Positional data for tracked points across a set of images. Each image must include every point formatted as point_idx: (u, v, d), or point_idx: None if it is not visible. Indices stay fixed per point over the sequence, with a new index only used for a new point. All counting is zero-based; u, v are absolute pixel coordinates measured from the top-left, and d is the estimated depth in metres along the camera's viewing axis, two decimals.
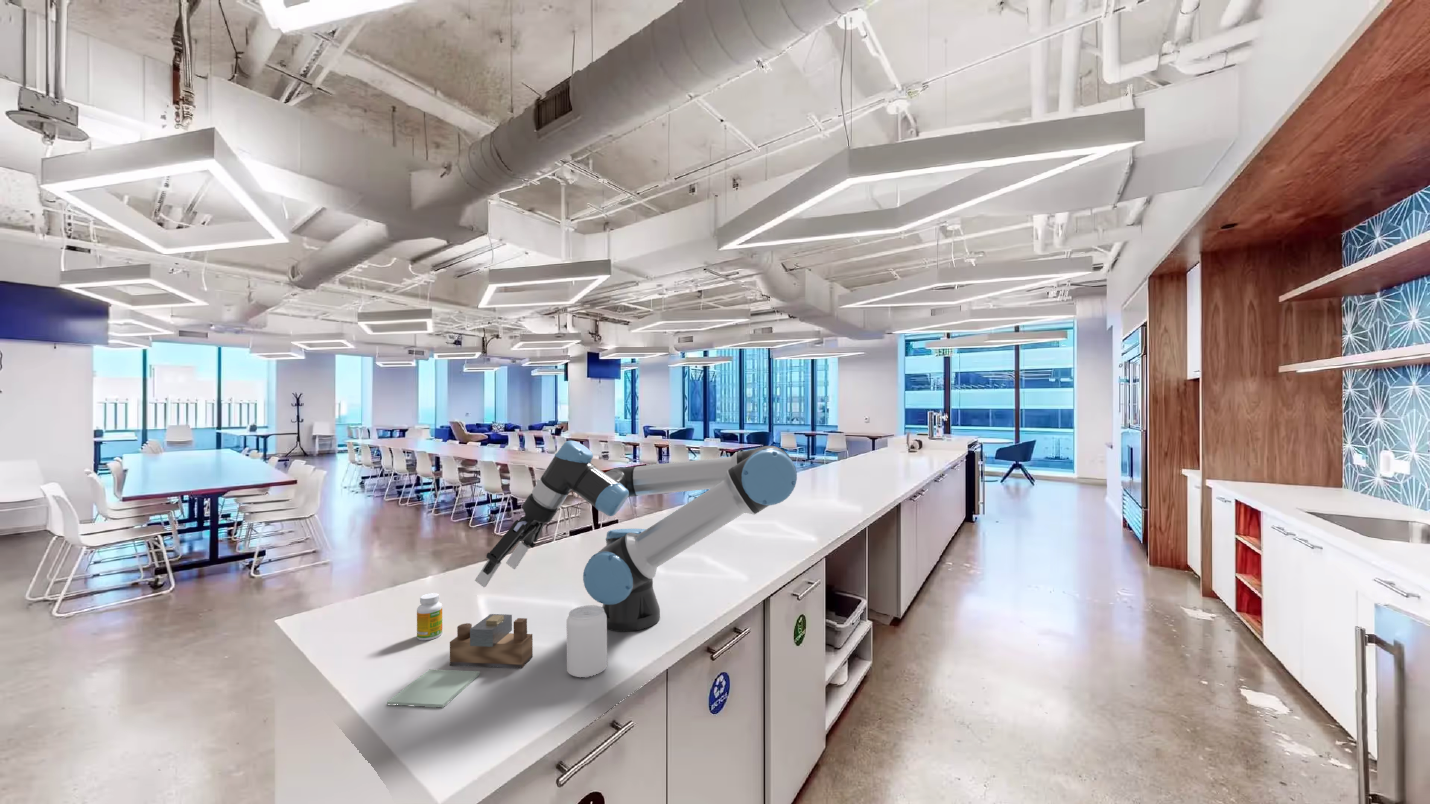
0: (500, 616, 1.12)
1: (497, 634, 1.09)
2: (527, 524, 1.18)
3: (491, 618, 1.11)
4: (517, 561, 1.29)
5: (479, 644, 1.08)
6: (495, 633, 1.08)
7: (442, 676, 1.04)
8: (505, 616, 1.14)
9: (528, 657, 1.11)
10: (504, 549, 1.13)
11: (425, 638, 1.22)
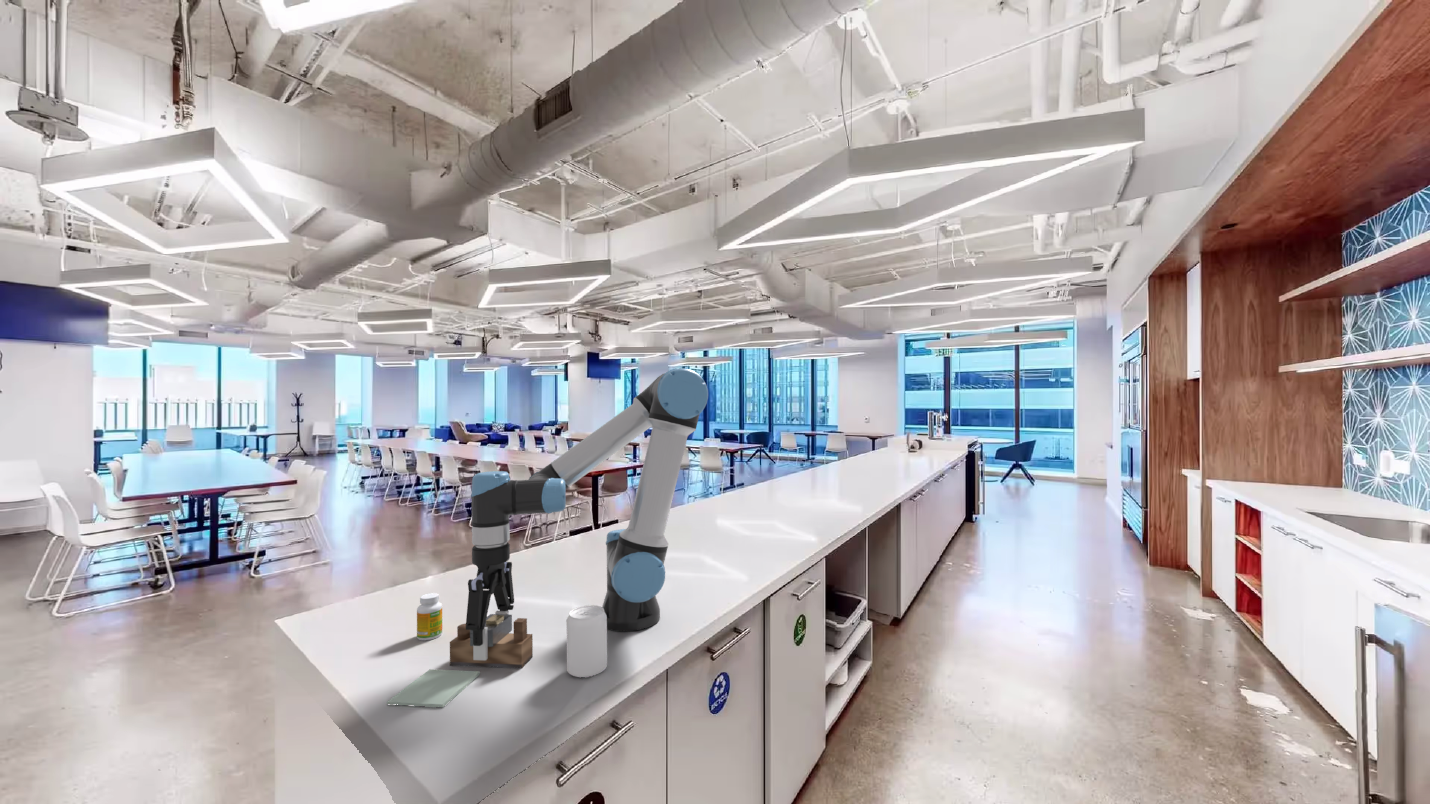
0: (500, 616, 1.12)
1: (497, 634, 1.09)
2: (484, 575, 1.08)
3: (491, 618, 1.11)
4: None
5: None
6: (495, 633, 1.08)
7: (442, 676, 1.04)
8: (505, 616, 1.14)
9: (528, 657, 1.11)
10: (476, 612, 1.05)
11: (425, 638, 1.22)
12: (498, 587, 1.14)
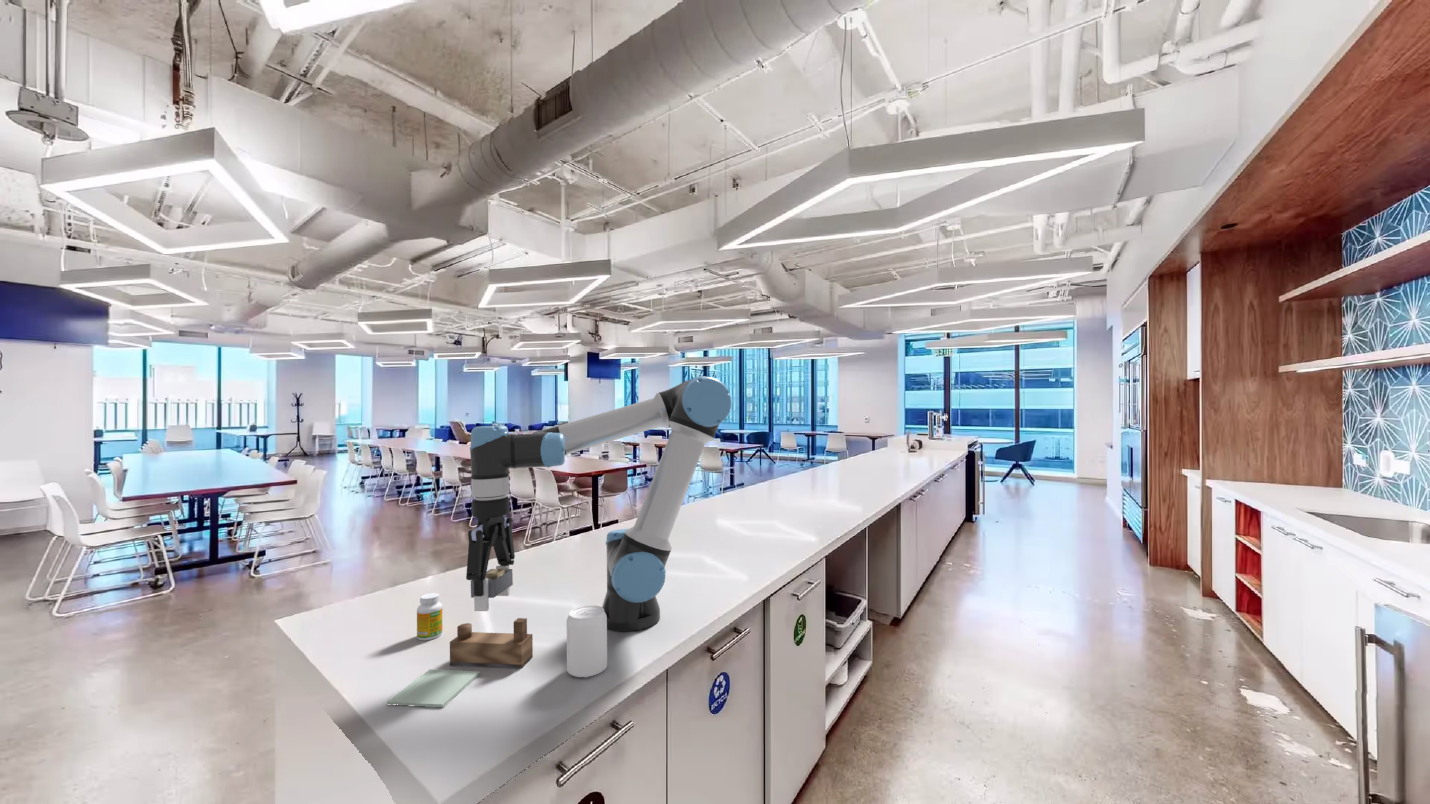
0: (501, 569, 1.13)
1: (498, 586, 1.09)
2: (484, 527, 1.08)
3: (492, 571, 1.12)
4: None
5: None
6: (495, 584, 1.09)
7: (442, 676, 1.04)
8: (506, 570, 1.15)
9: (528, 657, 1.11)
10: (477, 562, 1.05)
11: (425, 638, 1.22)
12: (498, 541, 1.14)
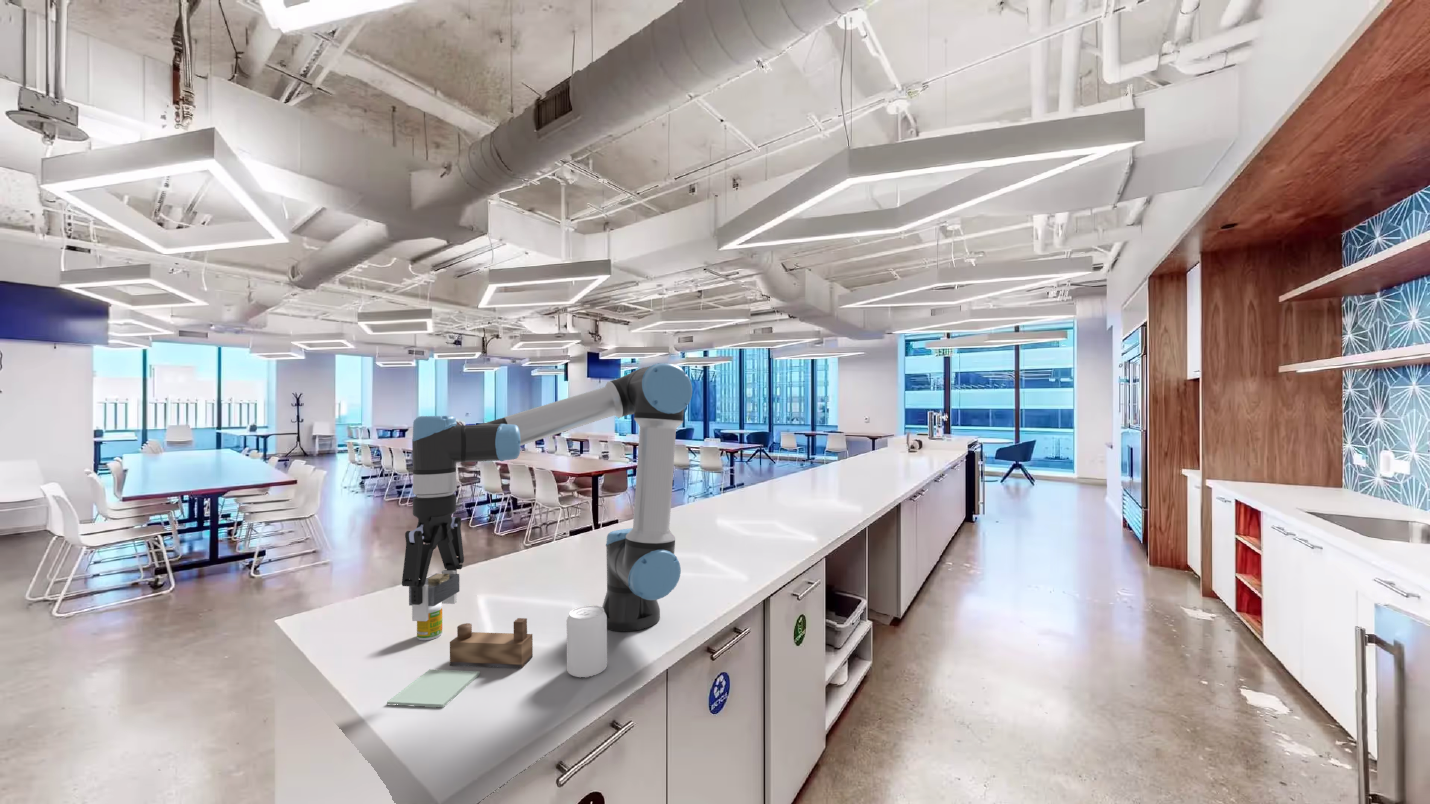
0: (445, 574, 1.02)
1: (440, 593, 0.99)
2: (424, 527, 0.97)
3: (434, 576, 1.01)
4: None
5: None
6: (437, 591, 0.98)
7: (442, 676, 1.04)
8: (451, 575, 1.04)
9: (528, 657, 1.11)
10: (414, 567, 0.94)
11: (425, 638, 1.22)
12: (444, 543, 1.03)
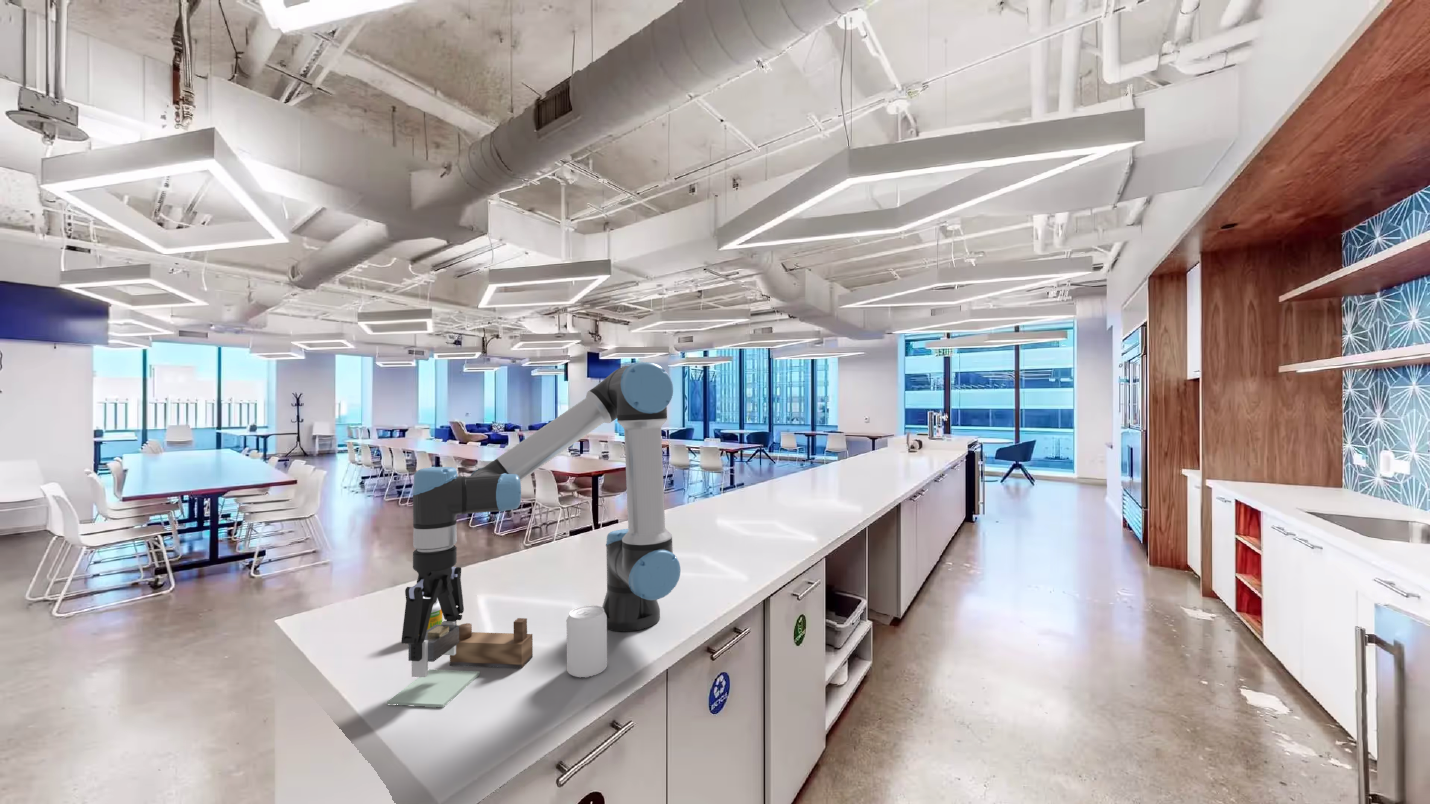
0: (445, 627, 1.02)
1: (439, 648, 0.98)
2: (424, 582, 0.97)
3: (434, 629, 1.00)
4: None
5: None
6: (436, 646, 0.97)
7: (442, 676, 1.04)
8: (451, 627, 1.04)
9: (528, 657, 1.11)
10: (414, 624, 0.94)
11: None
12: (444, 595, 1.03)
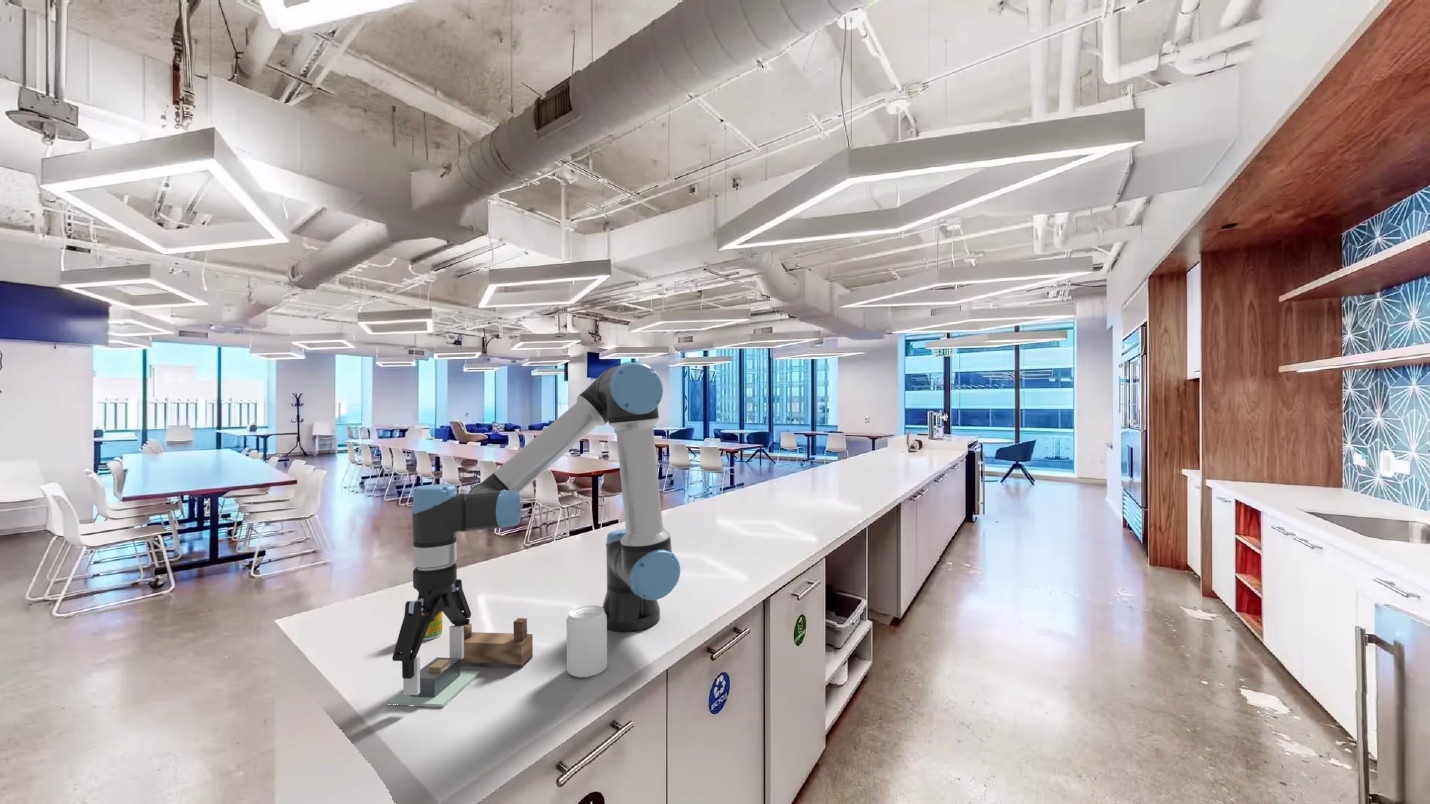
0: (446, 661, 1.02)
1: (440, 683, 0.98)
2: (425, 599, 0.97)
3: (435, 664, 1.00)
4: (459, 648, 1.07)
5: (420, 694, 0.97)
6: (438, 681, 0.97)
7: None
8: (452, 660, 1.03)
9: (528, 657, 1.11)
10: (408, 639, 0.92)
11: (425, 638, 1.22)
12: (447, 608, 1.04)
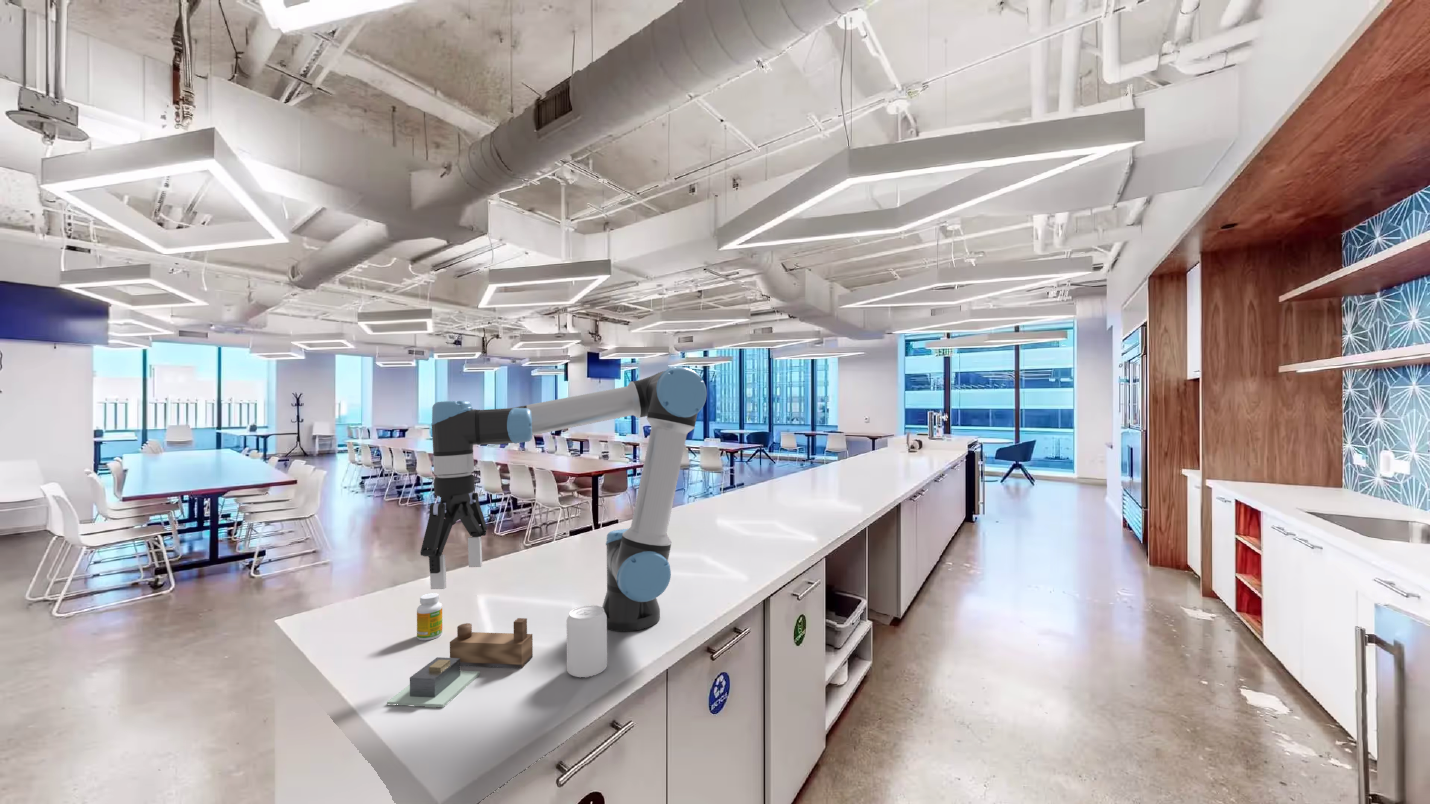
0: (446, 661, 1.02)
1: (440, 683, 0.98)
2: (447, 503, 1.04)
3: (435, 664, 1.00)
4: (478, 557, 1.14)
5: (420, 694, 0.97)
6: (438, 681, 0.97)
7: None
8: (452, 660, 1.03)
9: (528, 657, 1.11)
10: (434, 536, 0.99)
11: (425, 638, 1.22)
12: (466, 518, 1.11)
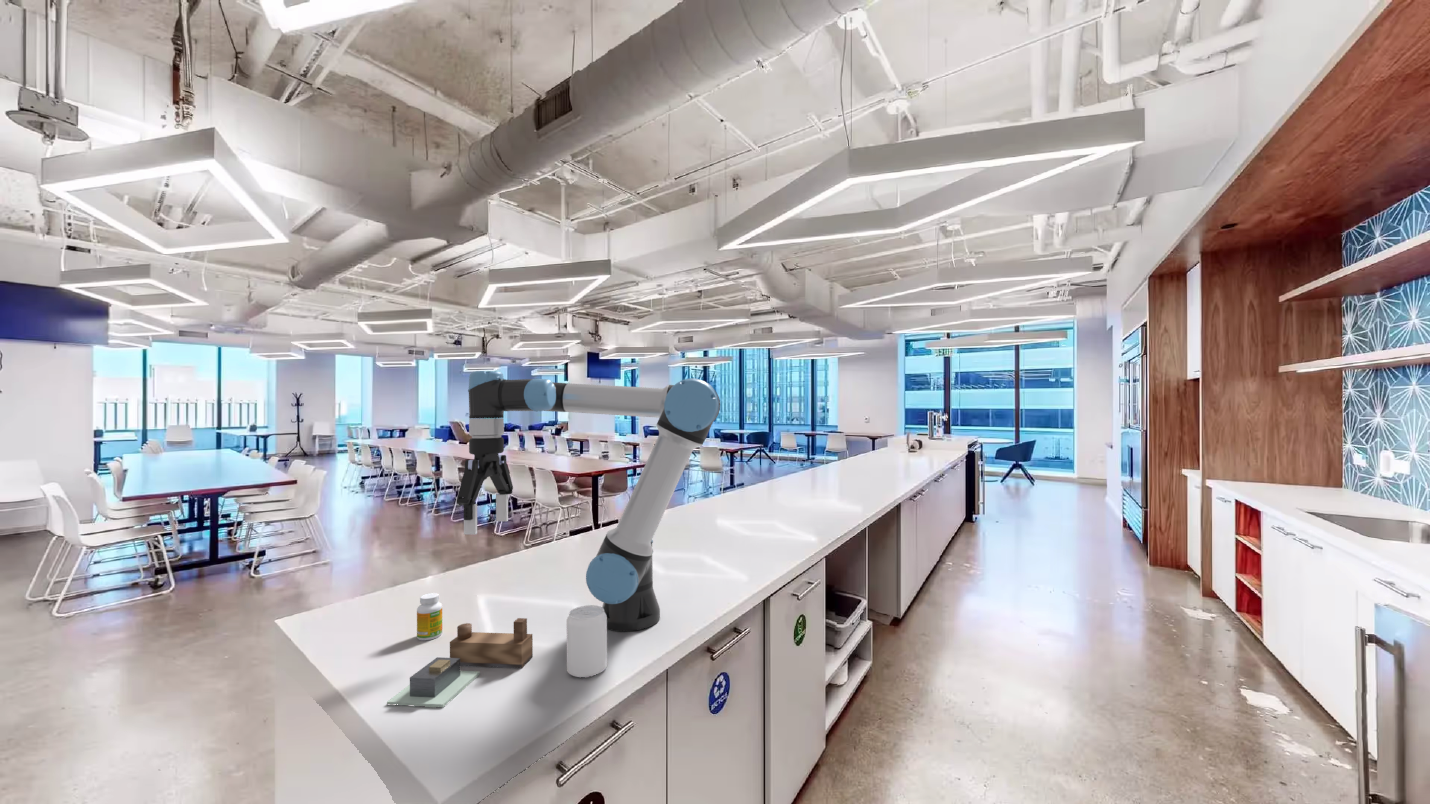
0: (446, 661, 1.02)
1: (440, 683, 0.98)
2: (480, 460, 1.18)
3: (435, 664, 1.00)
4: (504, 512, 1.28)
5: (420, 694, 0.97)
6: (438, 681, 0.97)
7: None
8: (452, 660, 1.03)
9: (528, 657, 1.11)
10: (469, 487, 1.13)
11: (425, 638, 1.22)
12: (495, 476, 1.25)
